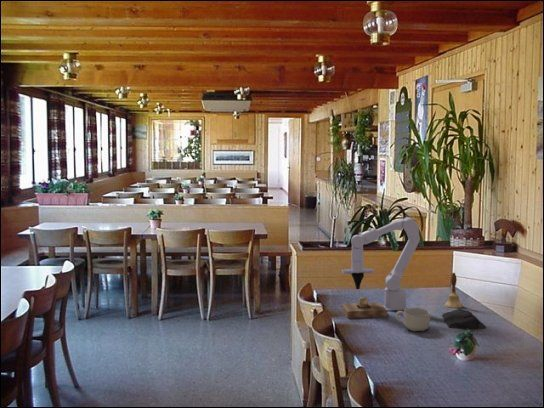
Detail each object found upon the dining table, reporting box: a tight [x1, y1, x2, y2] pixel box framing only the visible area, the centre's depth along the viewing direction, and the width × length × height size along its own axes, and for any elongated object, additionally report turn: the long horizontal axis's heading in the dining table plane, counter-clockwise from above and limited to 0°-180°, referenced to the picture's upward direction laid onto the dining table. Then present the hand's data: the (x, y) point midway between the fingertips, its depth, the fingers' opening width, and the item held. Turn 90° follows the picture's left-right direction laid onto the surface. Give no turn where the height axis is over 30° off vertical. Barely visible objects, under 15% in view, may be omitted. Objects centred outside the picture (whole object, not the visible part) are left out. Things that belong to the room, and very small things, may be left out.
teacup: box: [395, 307, 431, 332], centre depth 248 cm, size 14×11×8 cm
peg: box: [358, 296, 369, 309], centre depth 274 cm, size 4×4×7 cm
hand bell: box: [444, 272, 464, 309], centre depth 284 cm, size 8×8×16 cm
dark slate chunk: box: [441, 308, 486, 330], centre depth 258 cm, size 15×22×5 cm
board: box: [341, 301, 388, 319], centre depth 275 cm, size 18×14×3 cm
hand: (357, 288), depth 283 cm, fingers closed
